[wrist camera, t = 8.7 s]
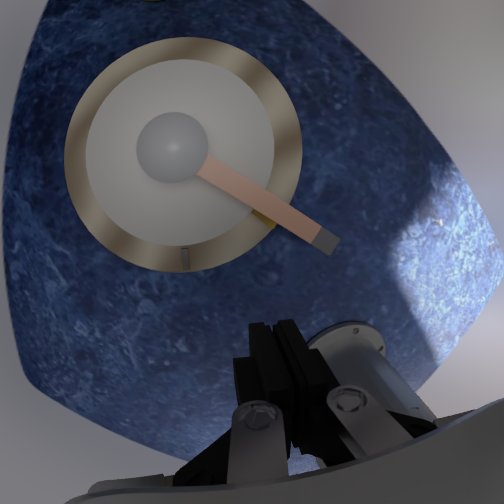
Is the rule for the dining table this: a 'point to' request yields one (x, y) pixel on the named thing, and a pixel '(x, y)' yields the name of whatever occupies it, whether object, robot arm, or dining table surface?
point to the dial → (187, 157)
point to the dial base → (255, 222)
